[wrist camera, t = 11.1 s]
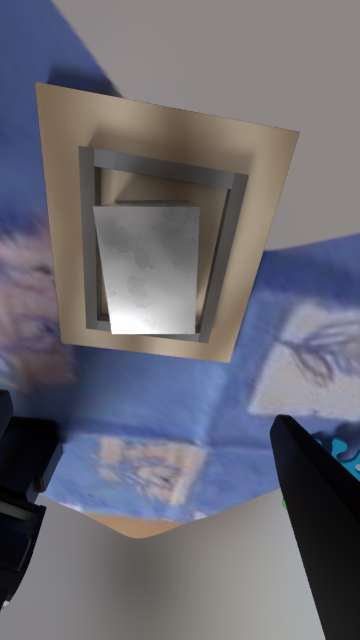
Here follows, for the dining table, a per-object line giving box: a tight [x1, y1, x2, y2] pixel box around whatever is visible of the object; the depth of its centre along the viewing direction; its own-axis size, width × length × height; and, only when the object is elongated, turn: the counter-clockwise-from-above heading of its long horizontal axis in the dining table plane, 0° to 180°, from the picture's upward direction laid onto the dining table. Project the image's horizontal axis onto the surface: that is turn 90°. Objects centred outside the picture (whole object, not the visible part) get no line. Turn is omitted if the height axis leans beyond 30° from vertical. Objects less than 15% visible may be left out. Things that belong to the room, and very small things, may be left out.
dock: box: [35, 82, 300, 363], centre depth 17 cm, size 14×16×2 cm
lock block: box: [93, 200, 200, 334], centre depth 15 cm, size 5×7×4 cm
